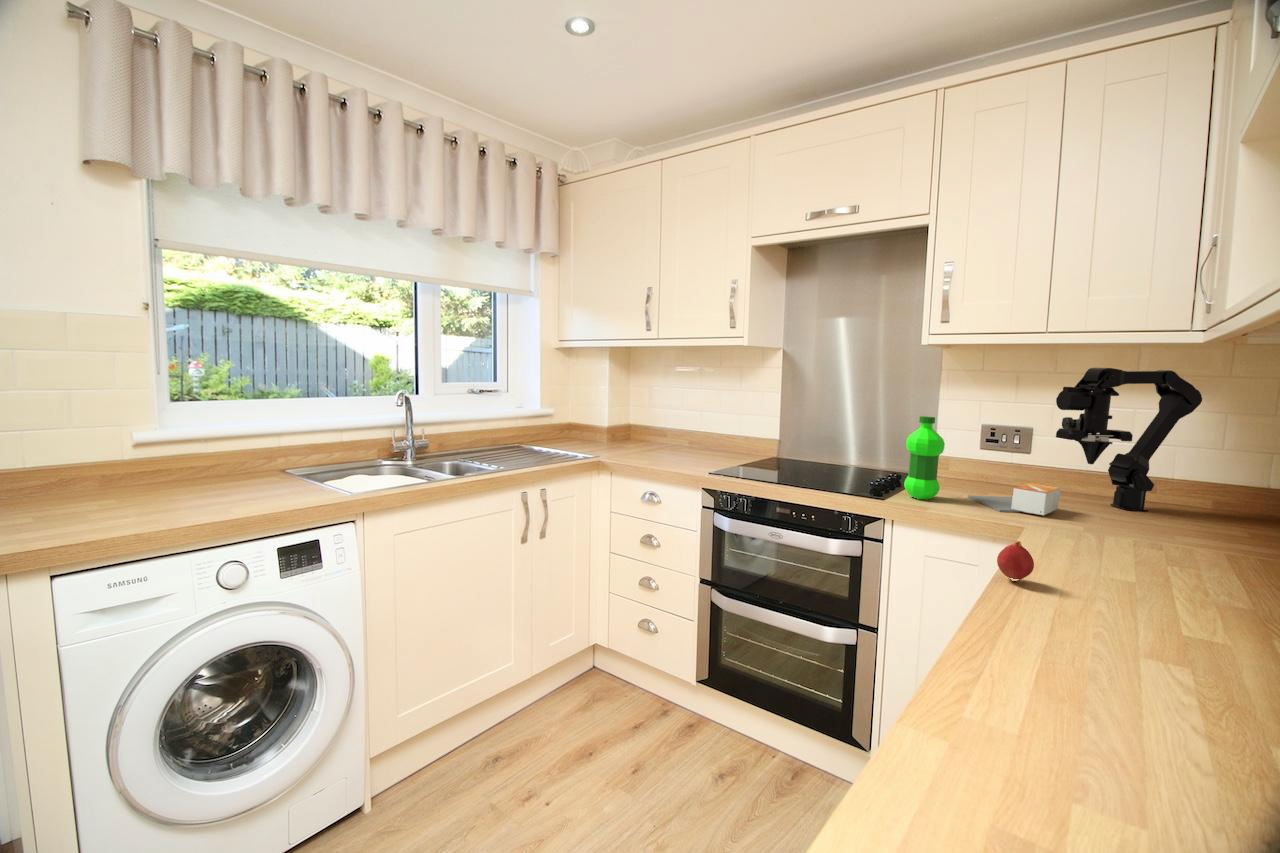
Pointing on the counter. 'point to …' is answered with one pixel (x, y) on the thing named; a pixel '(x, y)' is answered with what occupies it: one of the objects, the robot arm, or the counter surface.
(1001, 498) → the mat
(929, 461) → the plastic bottle
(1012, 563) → the onion
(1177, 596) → the counter surface
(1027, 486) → the small box
